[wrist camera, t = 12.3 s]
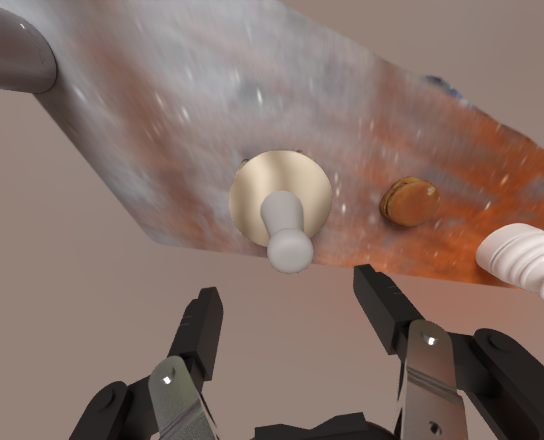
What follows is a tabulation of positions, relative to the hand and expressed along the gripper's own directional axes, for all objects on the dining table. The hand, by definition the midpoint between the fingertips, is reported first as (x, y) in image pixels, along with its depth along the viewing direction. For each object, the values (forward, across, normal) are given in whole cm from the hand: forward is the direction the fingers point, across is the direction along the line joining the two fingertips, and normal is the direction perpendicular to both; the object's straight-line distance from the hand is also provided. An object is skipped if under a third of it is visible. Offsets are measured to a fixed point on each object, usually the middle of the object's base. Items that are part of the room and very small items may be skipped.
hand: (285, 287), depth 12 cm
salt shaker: (+19, -1, +2) cm, 19 cm away
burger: (+28, -27, +9) cm, 40 cm away
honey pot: (+28, -53, +26) cm, 65 cm away
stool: (+28, -1, +3) cm, 29 cm away
